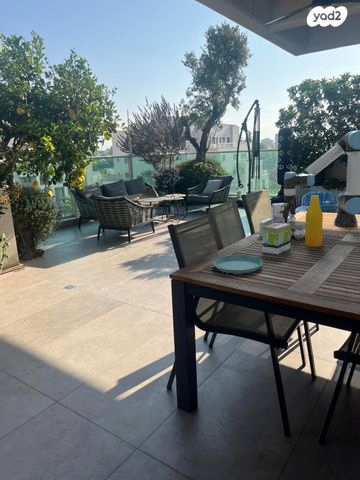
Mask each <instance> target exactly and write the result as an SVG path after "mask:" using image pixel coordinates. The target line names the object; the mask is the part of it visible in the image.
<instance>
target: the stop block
mask: <svg viewBox="0 0 360 480" xmlns="http://www.w3.org/2000/svg"><path fill="white" fill-rule="evenodd" d="M271 224H273V218H272V217H270V218H269V217H268V218H266V219H264V220H262V221H260V222H259V237H263V227H264V226H268V225H271Z"/></svg>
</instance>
